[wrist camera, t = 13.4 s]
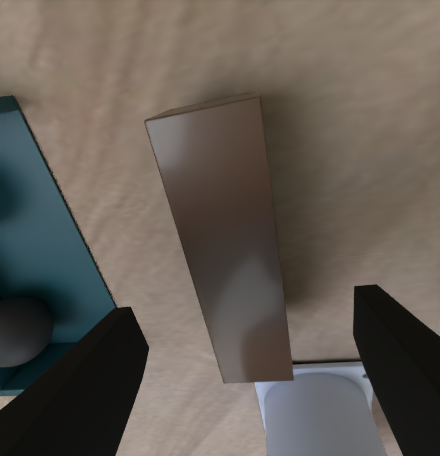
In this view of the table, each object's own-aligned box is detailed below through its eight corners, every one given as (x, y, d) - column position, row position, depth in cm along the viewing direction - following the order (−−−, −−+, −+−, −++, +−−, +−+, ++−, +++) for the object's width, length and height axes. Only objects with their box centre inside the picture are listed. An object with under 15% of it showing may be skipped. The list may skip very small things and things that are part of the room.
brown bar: (283, 309, 17) (294, 381, 13) (228, 314, 18) (223, 384, 14) (255, 89, 12) (260, 95, 8) (177, 105, 12) (143, 120, 8)
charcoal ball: (-3, 351, 19) (60, 319, 20) (-6, 396, 16) (68, 353, 17) (-40, 307, 17) (33, 275, 19) (-51, 347, 14) (37, 305, 16)
